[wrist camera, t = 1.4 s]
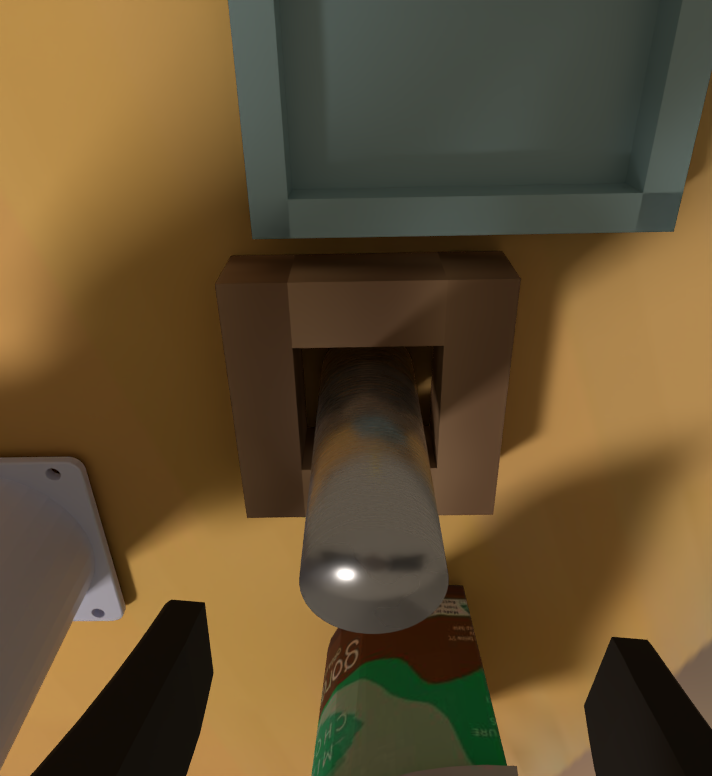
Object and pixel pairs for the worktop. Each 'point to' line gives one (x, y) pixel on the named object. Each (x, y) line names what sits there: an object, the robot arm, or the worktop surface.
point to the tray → (468, 114)
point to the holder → (368, 329)
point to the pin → (371, 498)
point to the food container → (409, 702)
